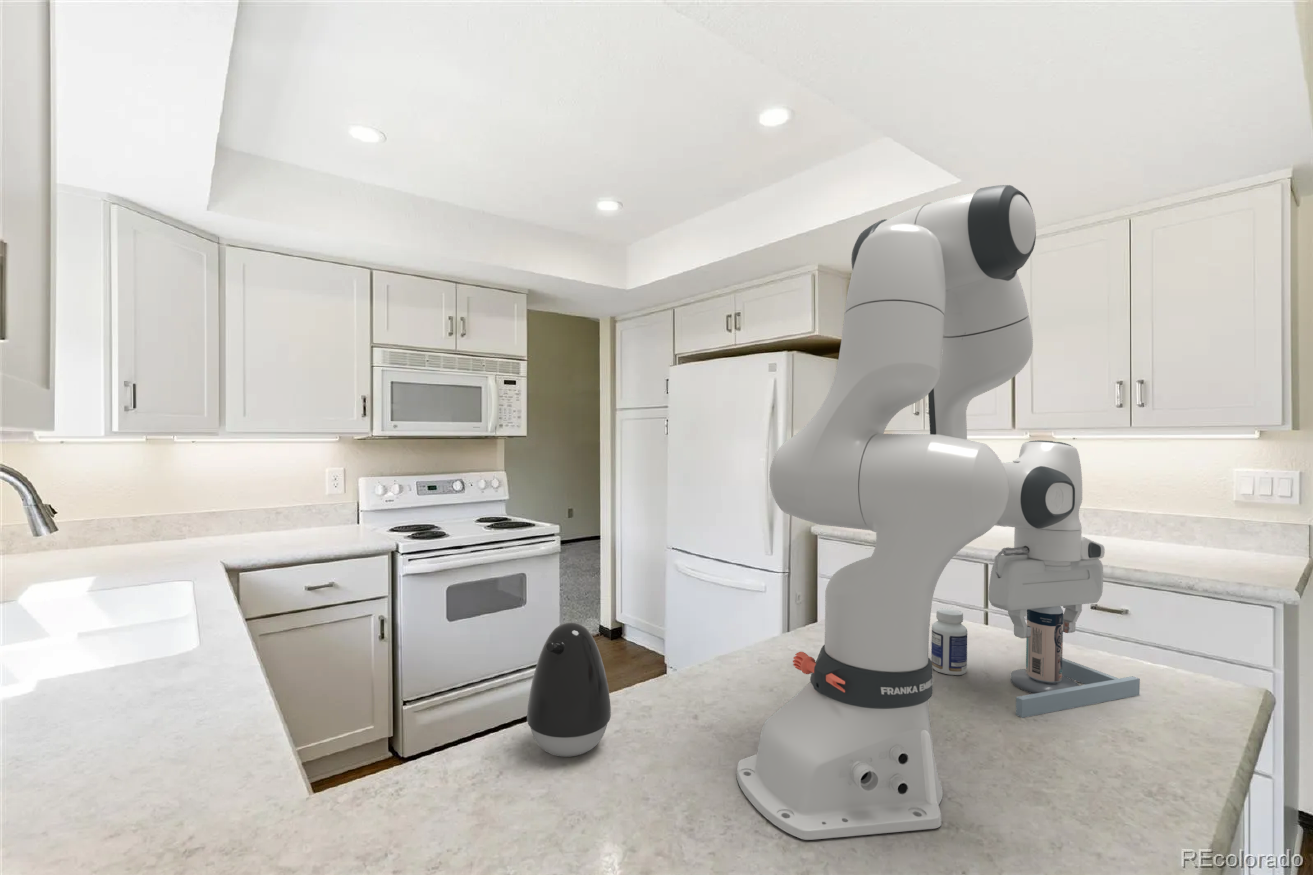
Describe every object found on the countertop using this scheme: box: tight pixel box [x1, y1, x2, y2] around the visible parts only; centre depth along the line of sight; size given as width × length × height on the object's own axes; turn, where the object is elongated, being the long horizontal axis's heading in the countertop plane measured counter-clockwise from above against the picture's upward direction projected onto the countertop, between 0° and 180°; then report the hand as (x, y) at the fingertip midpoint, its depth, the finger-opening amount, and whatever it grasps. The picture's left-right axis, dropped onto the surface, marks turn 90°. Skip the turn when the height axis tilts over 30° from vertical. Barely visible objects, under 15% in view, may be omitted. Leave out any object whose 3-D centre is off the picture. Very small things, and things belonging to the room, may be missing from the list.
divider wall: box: [1015, 657, 1141, 719], centre depth 97 cm, size 24×14×2 cm, turn 110°
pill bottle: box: [930, 607, 968, 676], centre depth 103 cm, size 5×5×10 cm
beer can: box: [1025, 606, 1064, 684], centre depth 97 cm, size 5×5×12 cm
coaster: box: [1010, 668, 1079, 694], centre depth 97 cm, size 9×9×1 cm
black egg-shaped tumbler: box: [526, 622, 612, 758], centre depth 77 cm, size 10×10×15 cm
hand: (1044, 634), depth 97 cm, fingers open, 8 cm apart
